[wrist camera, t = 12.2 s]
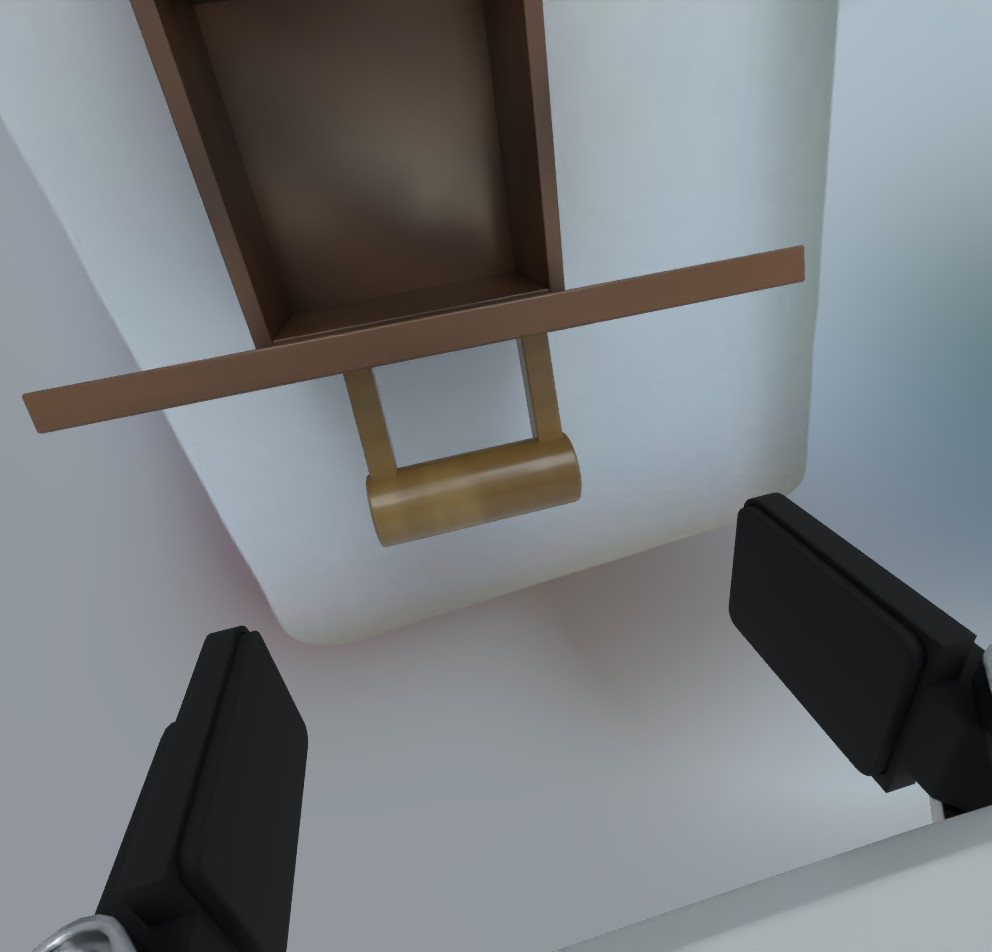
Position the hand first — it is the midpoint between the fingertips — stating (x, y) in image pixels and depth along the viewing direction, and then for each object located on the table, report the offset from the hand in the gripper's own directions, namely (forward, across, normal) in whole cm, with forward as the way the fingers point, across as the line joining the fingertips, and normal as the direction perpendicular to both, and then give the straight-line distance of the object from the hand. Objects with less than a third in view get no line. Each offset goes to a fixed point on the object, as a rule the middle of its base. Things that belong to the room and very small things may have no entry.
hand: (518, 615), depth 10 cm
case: (+31, 0, -9) cm, 32 cm away
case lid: (+13, 0, -3) cm, 13 cm away
